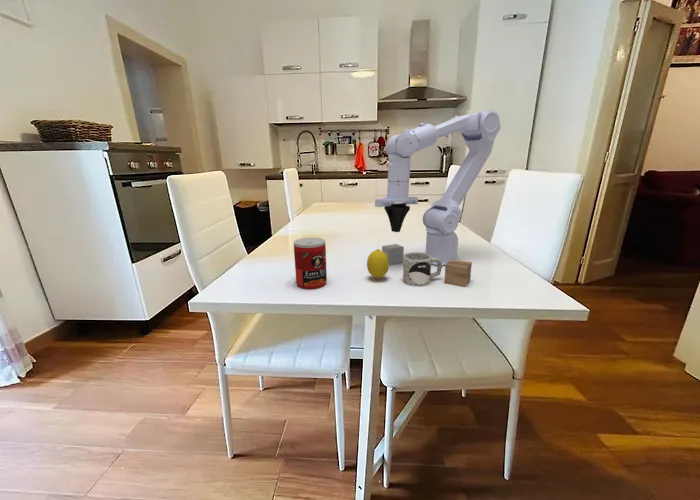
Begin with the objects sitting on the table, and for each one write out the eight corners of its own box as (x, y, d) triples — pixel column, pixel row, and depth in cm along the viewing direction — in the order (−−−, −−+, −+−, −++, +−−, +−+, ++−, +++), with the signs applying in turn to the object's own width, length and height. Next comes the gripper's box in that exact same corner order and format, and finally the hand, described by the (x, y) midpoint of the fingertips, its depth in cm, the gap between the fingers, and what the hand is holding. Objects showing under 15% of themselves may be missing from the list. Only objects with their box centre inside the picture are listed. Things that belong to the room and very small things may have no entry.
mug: (409, 287, 75) (410, 261, 74) (399, 278, 82) (399, 253, 80) (447, 283, 77) (449, 257, 76) (434, 274, 84) (435, 250, 82)
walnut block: (450, 277, 82) (451, 259, 80) (470, 281, 79) (471, 262, 78) (444, 283, 78) (445, 264, 76) (465, 287, 75) (466, 267, 74)
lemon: (392, 277, 82) (392, 248, 80) (382, 284, 77) (382, 253, 75) (373, 273, 85) (374, 245, 83) (363, 280, 81) (362, 250, 78)
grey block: (395, 259, 98) (396, 243, 96) (403, 262, 94) (403, 246, 93) (381, 261, 96) (382, 245, 94) (389, 265, 92) (389, 249, 91)
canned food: (304, 292, 74) (301, 246, 71) (291, 281, 80) (288, 240, 77) (332, 285, 78) (331, 242, 75) (318, 276, 84) (316, 235, 81)
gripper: (406, 180, 91) (403, 226, 95) (368, 181, 83) (366, 231, 86) (425, 181, 86) (421, 230, 89) (386, 182, 78) (383, 236, 81)
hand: (395, 231), depth 88 cm, fingers closed
